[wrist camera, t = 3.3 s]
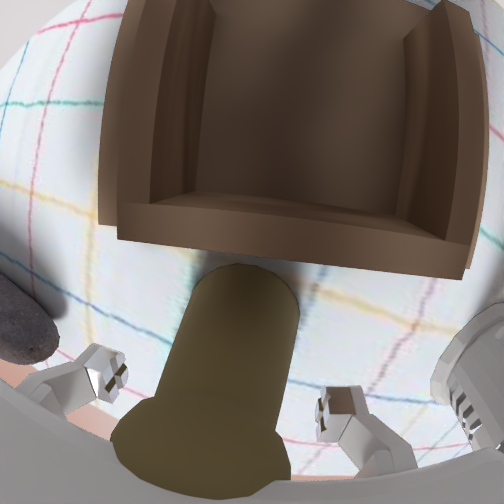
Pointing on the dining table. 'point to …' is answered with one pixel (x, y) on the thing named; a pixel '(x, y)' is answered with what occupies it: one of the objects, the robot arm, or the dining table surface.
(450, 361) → the french press
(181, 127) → the u rest
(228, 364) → the cork
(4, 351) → the perforated stone tool
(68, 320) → the dining table surface
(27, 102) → the dining table surface
